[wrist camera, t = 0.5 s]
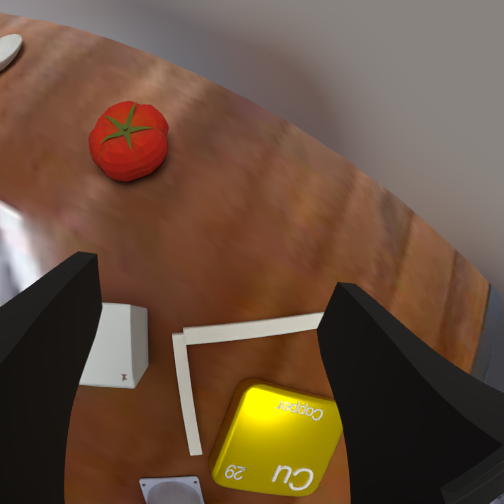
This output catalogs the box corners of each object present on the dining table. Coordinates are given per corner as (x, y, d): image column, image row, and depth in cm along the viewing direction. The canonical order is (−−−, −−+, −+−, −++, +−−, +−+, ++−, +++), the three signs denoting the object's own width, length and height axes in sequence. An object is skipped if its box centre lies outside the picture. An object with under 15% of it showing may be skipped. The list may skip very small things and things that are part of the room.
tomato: (112, 118, 39) (105, 86, 32) (180, 133, 41) (182, 101, 34) (83, 179, 36) (67, 153, 29) (155, 198, 38) (151, 173, 31)
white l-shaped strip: (327, 418, 38) (339, 425, 34) (189, 444, 33) (190, 455, 29) (319, 312, 40) (331, 311, 37) (172, 328, 36) (171, 329, 32)
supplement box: (148, 307, 35) (134, 303, 23) (149, 367, 34) (136, 392, 22) (91, 304, 34) (53, 298, 22) (92, 363, 32) (56, 383, 20)
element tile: (338, 398, 39) (355, 406, 34) (301, 485, 35) (314, 499, 30) (240, 373, 37) (249, 380, 32) (204, 469, 33) (208, 486, 28)
